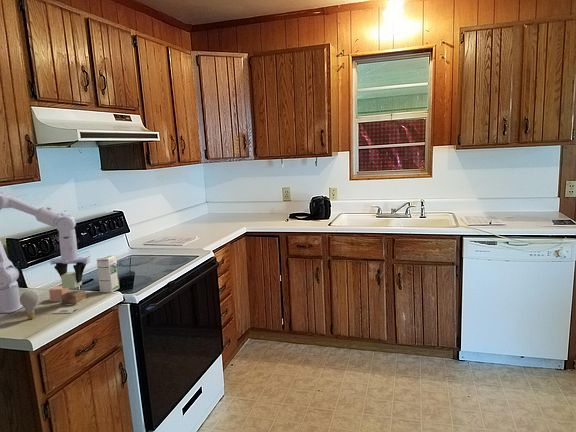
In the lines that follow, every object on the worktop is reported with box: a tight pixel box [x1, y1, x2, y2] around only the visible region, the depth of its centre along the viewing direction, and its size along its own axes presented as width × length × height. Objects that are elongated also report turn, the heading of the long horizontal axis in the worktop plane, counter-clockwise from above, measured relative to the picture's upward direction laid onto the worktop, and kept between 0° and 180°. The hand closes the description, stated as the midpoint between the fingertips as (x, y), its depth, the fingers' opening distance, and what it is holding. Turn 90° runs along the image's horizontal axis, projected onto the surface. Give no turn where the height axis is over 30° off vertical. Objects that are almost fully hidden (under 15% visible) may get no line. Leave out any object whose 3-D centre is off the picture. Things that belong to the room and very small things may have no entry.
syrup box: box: [96, 255, 120, 293], centre depth 176 cm, size 6×6×14 cm
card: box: [51, 307, 75, 315], centre depth 153 cm, size 7×5×1 cm
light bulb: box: [19, 290, 39, 320], centre depth 145 cm, size 6×6×10 cm
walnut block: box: [61, 290, 87, 305], centre depth 163 cm, size 6×6×4 cm
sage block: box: [60, 271, 83, 289], centre depth 161 cm, size 5×5×5 cm
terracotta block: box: [48, 285, 70, 302], centre depth 167 cm, size 5×5×5 cm
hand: (72, 282), depth 162 cm, fingers closed on sage block, 5 cm apart
